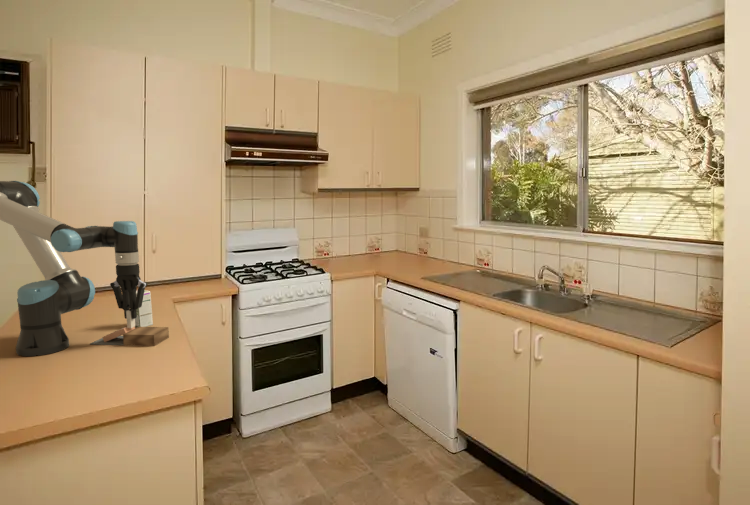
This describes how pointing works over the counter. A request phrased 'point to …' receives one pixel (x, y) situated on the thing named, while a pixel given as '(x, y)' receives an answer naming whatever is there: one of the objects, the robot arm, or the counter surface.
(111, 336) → the salmon orange flat block
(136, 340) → the brown wooden flat block
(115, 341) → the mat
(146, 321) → the syrup box
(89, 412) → the counter surface
